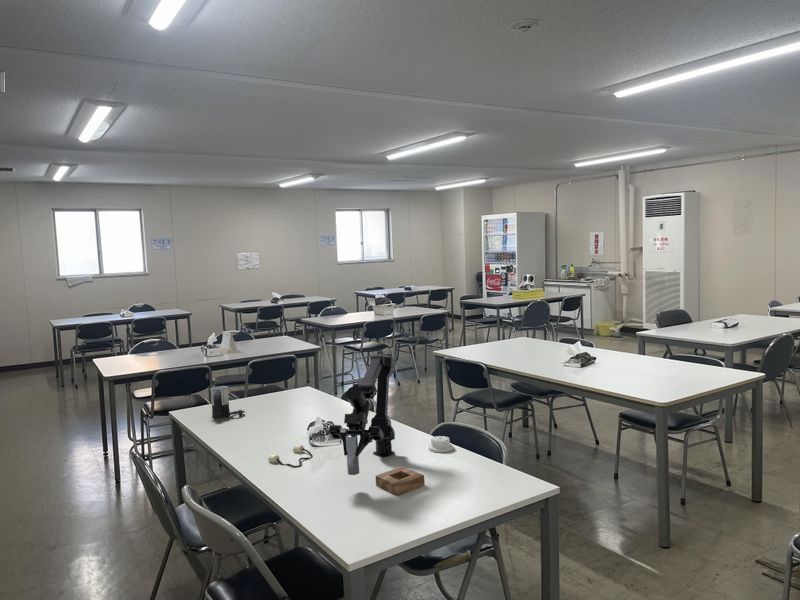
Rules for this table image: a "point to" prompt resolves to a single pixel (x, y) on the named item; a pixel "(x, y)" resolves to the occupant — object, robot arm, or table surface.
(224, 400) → the milk frother
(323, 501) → the table surface
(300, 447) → the cable
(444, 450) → the mechanical component
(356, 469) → the steel pin
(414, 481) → the walnut bore block
